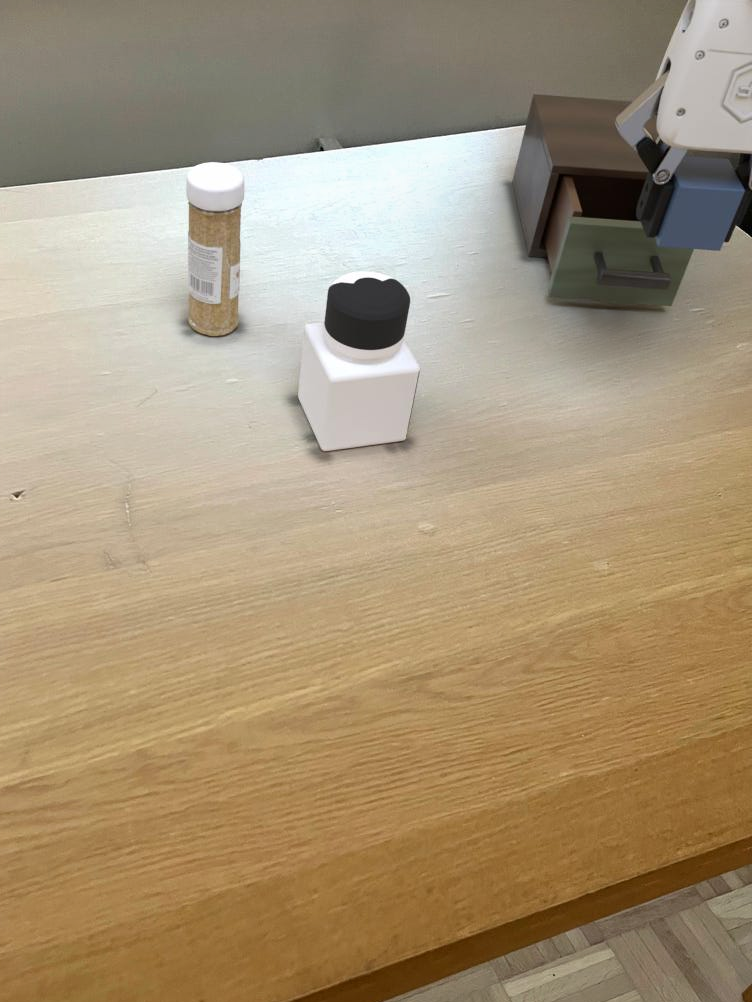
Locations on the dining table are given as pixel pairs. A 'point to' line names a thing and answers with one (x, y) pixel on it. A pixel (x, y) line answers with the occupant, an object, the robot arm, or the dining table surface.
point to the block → (701, 204)
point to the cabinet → (569, 154)
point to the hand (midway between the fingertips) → (683, 227)
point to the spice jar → (214, 246)
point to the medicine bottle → (359, 364)
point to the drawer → (607, 245)
